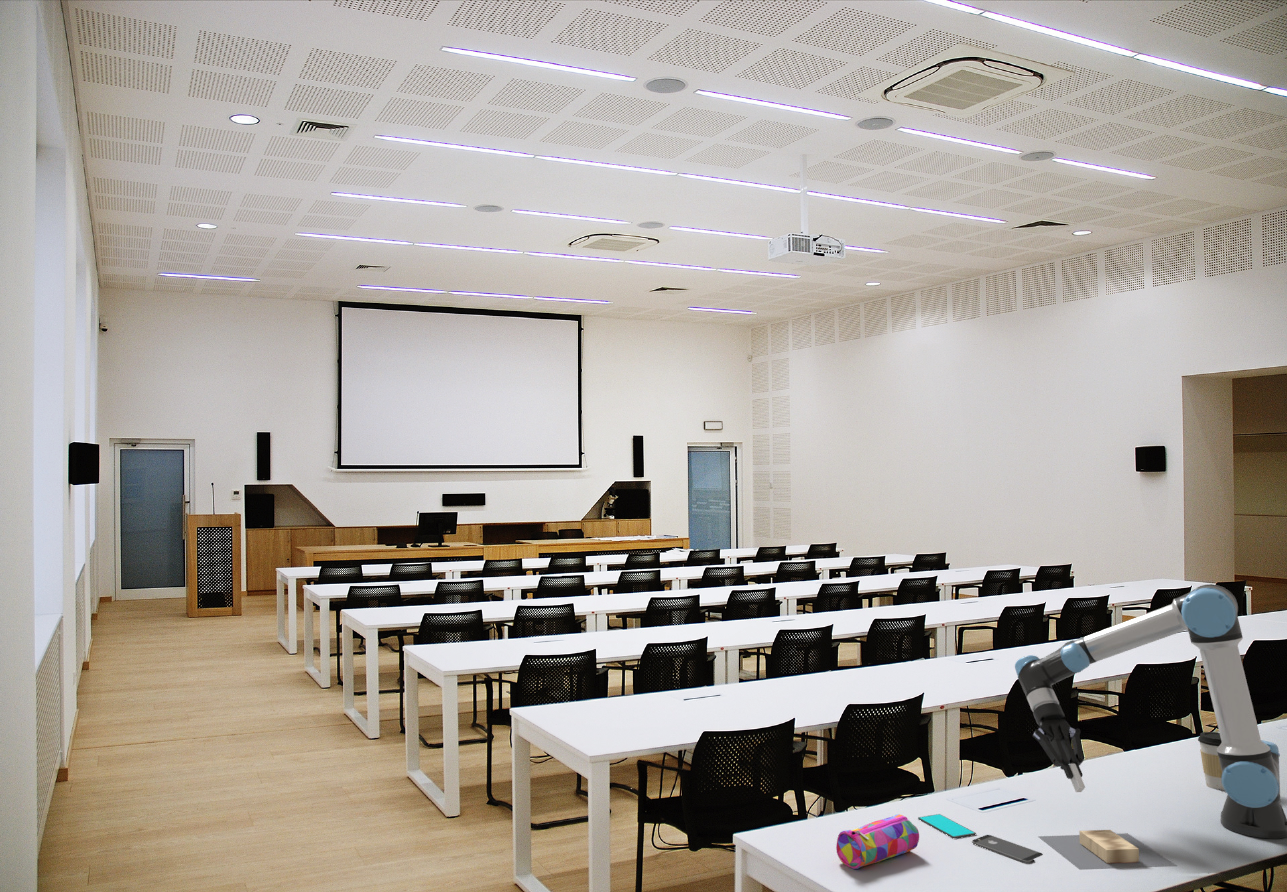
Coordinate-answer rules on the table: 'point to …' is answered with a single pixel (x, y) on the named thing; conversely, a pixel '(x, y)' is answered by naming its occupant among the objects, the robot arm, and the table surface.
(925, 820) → the smartphone
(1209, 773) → the coffee cup
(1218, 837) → the table surface
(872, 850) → the pencil case
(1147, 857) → the rubber mat
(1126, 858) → the oak block
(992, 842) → the phone
